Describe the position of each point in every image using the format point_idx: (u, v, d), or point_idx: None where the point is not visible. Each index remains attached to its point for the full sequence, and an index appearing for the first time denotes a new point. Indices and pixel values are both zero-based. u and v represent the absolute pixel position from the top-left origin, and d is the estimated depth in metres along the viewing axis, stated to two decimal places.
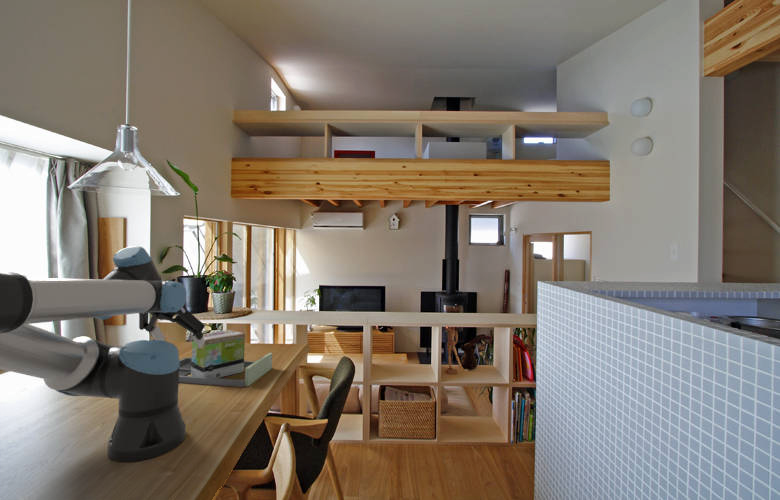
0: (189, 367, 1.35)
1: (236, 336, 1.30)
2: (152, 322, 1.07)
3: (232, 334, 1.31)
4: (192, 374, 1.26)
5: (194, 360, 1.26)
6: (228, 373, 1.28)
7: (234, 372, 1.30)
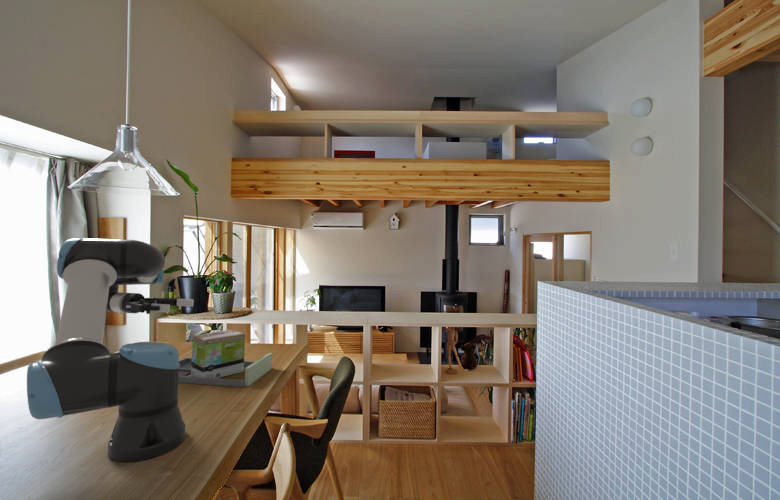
0: (189, 367, 1.35)
1: (236, 336, 1.30)
2: (145, 302, 1.29)
3: (232, 334, 1.31)
4: (192, 374, 1.26)
5: (194, 360, 1.26)
6: (228, 373, 1.28)
7: (234, 372, 1.30)
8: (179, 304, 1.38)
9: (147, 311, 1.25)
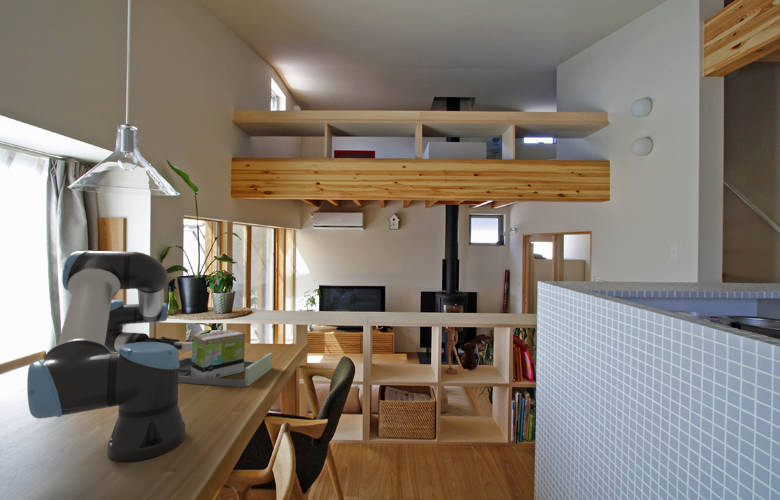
0: (189, 367, 1.35)
1: (236, 336, 1.30)
2: (159, 342, 1.32)
3: (232, 334, 1.31)
4: (192, 374, 1.26)
5: (194, 360, 1.26)
6: (228, 373, 1.28)
7: (234, 372, 1.30)
8: None
9: None
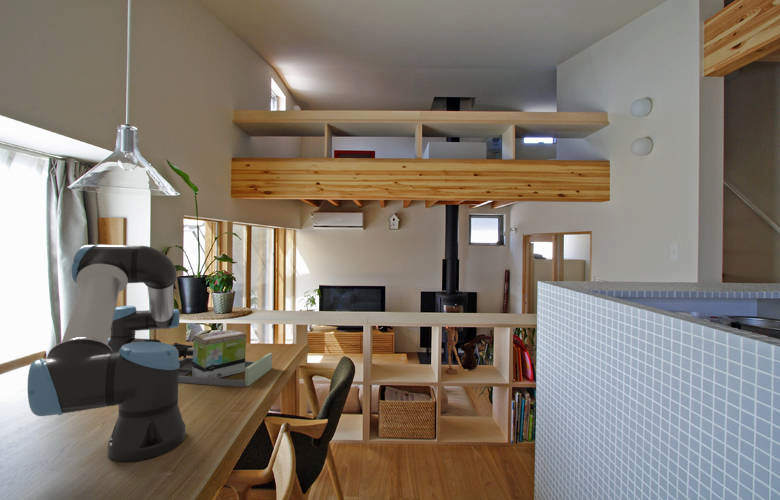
0: (189, 367, 1.35)
1: (237, 336, 1.30)
2: None
3: (233, 334, 1.31)
4: (193, 374, 1.26)
5: (196, 360, 1.25)
6: (229, 373, 1.28)
7: (235, 372, 1.30)
8: None
9: (184, 356, 1.30)
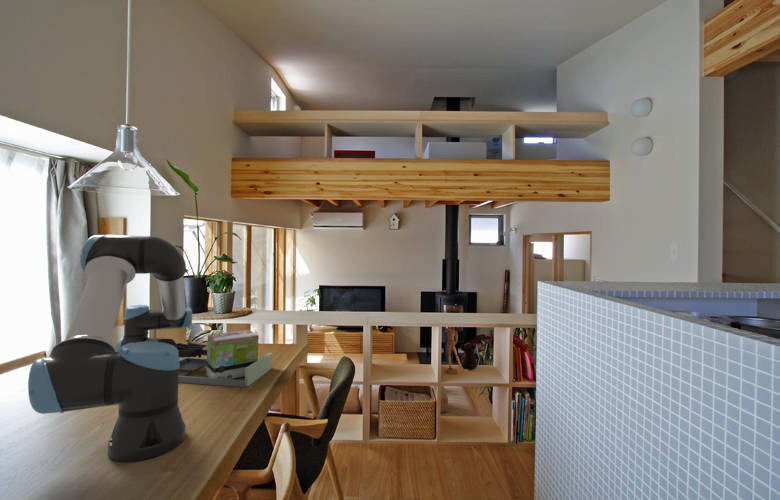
0: (189, 367, 1.35)
1: (249, 338, 1.28)
2: (187, 347, 1.31)
3: (245, 335, 1.28)
4: (207, 373, 1.27)
5: (208, 360, 1.25)
6: (240, 375, 1.27)
7: None
8: None
9: (199, 355, 1.30)
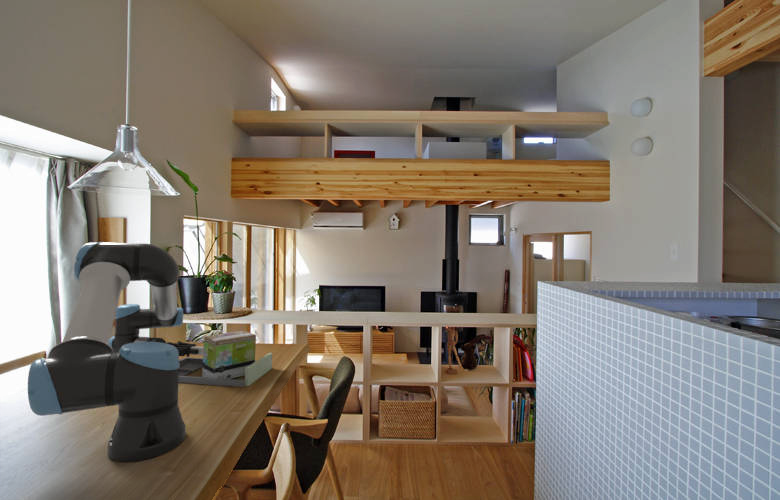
0: (189, 367, 1.35)
1: (247, 337, 1.29)
2: (175, 347, 1.32)
3: (243, 335, 1.30)
4: (203, 375, 1.26)
5: (206, 361, 1.25)
6: (239, 374, 1.27)
7: None
8: None
9: (188, 354, 1.30)
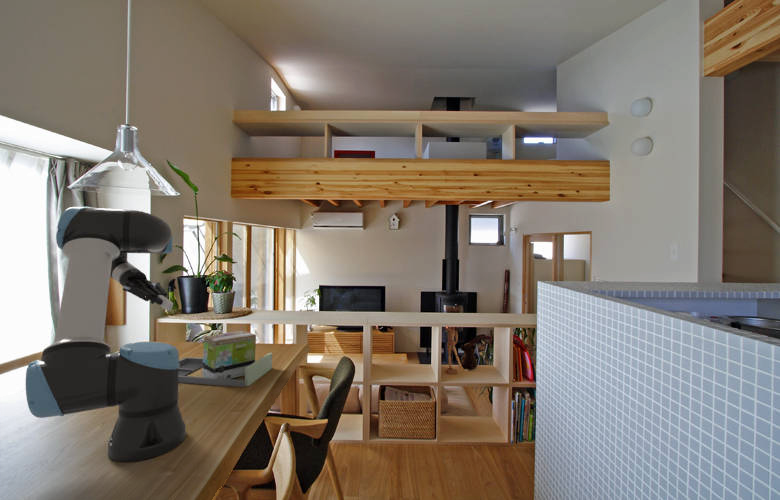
0: (189, 367, 1.35)
1: (247, 337, 1.29)
2: (147, 288, 1.26)
3: (243, 335, 1.30)
4: (203, 375, 1.26)
5: (206, 361, 1.25)
6: (239, 374, 1.27)
7: None
8: None
9: (152, 301, 1.24)
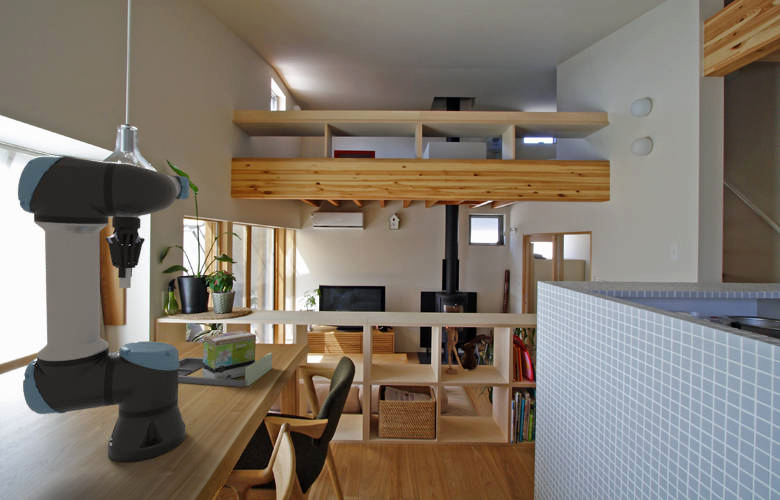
0: (189, 367, 1.35)
1: (247, 337, 1.29)
2: (126, 251, 1.16)
3: (243, 335, 1.30)
4: (203, 375, 1.26)
5: (206, 361, 1.25)
6: (239, 374, 1.27)
7: None
8: None
9: (117, 267, 1.16)
